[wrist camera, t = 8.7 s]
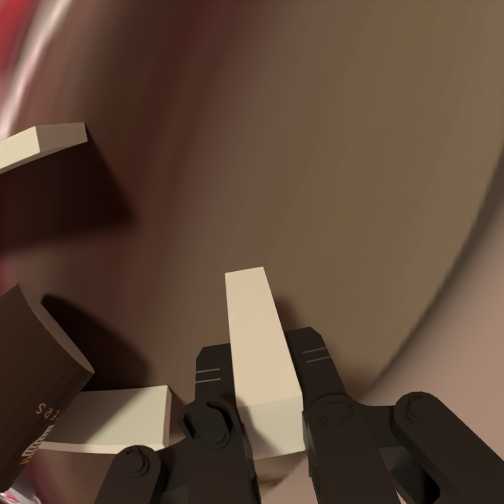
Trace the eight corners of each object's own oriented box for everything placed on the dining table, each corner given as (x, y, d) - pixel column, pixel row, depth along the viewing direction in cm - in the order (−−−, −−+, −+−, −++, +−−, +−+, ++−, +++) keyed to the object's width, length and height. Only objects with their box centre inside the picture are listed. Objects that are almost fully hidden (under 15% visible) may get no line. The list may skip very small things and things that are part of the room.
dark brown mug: (-3, 272, 10) (-112, 408, 5) (128, 413, 13) (18, 519, 8) (15, 261, 19) (-63, 344, 14) (85, 347, 22) (11, 422, 17)
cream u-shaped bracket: (84, 122, 13) (35, 126, 9) (171, 394, 20) (167, 452, 16) (-79, 200, 12) (-124, 223, 8) (15, 399, 20) (-4, 441, 15)
